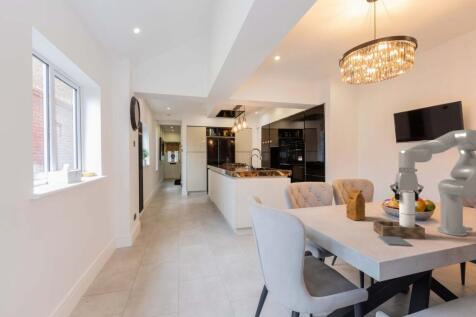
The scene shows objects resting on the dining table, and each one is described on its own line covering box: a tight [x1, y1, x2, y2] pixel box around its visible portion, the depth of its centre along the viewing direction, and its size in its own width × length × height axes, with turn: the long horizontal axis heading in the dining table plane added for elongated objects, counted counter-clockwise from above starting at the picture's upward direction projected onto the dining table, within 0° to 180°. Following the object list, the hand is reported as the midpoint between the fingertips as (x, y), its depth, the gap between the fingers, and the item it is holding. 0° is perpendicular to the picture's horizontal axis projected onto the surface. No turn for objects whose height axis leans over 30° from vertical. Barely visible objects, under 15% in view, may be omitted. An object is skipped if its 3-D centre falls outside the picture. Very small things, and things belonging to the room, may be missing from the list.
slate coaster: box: [377, 235, 413, 247], centre depth 116 cm, size 11×11×1 cm
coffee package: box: [345, 187, 366, 221], centre depth 159 cm, size 10×12×22 cm
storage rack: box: [372, 220, 426, 240], centre depth 126 cm, size 21×11×6 cm, turn 81°
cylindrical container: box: [398, 190, 416, 227], centre depth 125 cm, size 7×7×25 cm
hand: (406, 200), depth 125 cm, fingers open, 9 cm apart
